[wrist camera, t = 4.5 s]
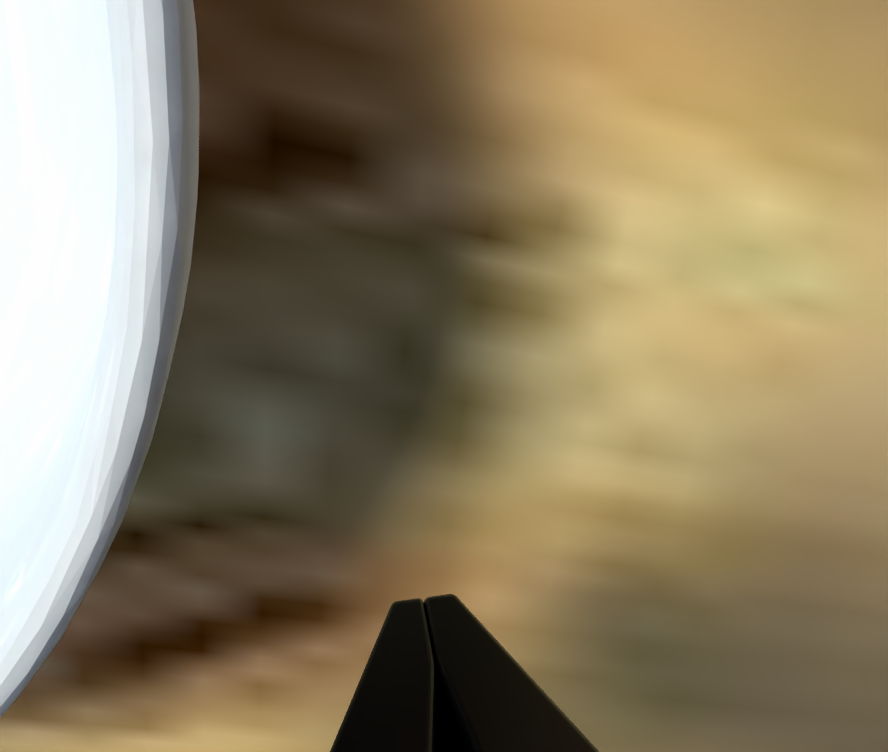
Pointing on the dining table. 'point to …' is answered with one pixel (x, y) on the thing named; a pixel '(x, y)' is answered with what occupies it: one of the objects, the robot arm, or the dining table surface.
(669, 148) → the dining table surface
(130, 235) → the serving bowl
